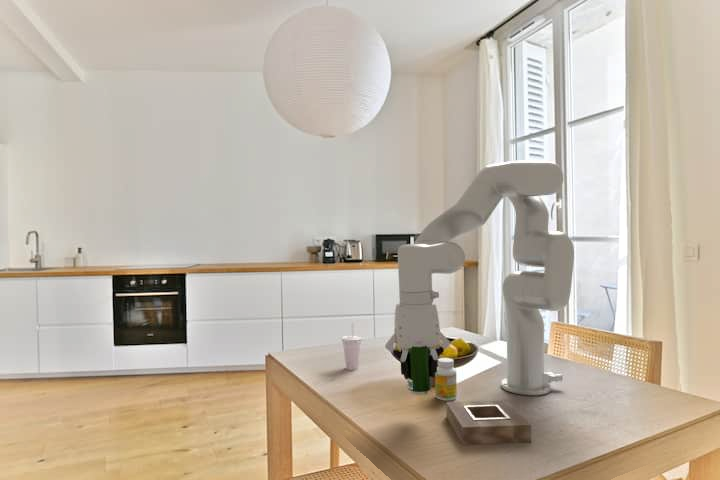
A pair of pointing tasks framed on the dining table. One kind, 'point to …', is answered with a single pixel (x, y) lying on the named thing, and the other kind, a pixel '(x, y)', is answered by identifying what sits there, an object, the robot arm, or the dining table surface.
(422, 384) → the beer can
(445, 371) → the supplement bottle
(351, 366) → the smoothie
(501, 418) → the jig bore mouth
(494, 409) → the block
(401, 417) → the dining table surface
